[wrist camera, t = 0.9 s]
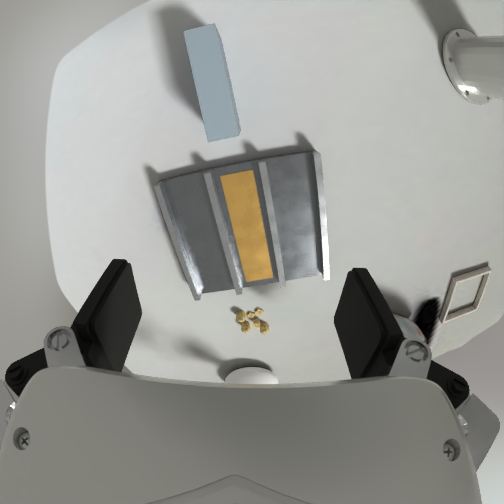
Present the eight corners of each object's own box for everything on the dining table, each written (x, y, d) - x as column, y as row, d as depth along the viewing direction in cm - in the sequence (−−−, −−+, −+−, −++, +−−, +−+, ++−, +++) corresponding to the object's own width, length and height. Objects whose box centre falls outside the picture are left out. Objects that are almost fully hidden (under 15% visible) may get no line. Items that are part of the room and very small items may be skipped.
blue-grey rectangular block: (221, 39, 24) (214, 23, 18) (240, 129, 30) (239, 135, 24) (196, 44, 24) (183, 31, 18) (216, 134, 30) (208, 142, 24)
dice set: (268, 325, 47) (269, 333, 46) (240, 328, 47) (239, 336, 46) (266, 304, 45) (267, 312, 43) (235, 307, 45) (235, 315, 43)
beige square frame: (488, 266, 41) (492, 269, 40) (474, 306, 47) (477, 310, 46) (452, 277, 42) (456, 281, 41) (439, 319, 48) (441, 323, 47)
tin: (357, 312, 46) (372, 348, 38) (367, 300, 44) (384, 335, 37) (407, 328, 49) (422, 357, 42) (416, 317, 47) (433, 347, 40)
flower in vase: (258, 355, 51) (263, 477, 29) (287, 378, 56) (298, 482, 34) (208, 374, 54) (199, 482, 33) (240, 395, 59) (239, 490, 38)
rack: (315, 150, 31) (320, 153, 29) (325, 269, 40) (329, 279, 38) (159, 180, 33) (153, 186, 31) (197, 290, 42) (195, 300, 40)
